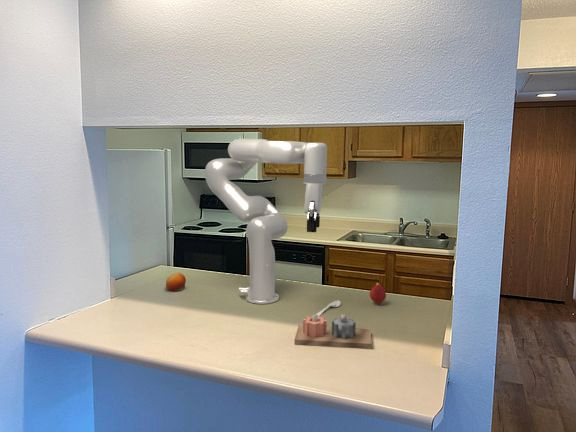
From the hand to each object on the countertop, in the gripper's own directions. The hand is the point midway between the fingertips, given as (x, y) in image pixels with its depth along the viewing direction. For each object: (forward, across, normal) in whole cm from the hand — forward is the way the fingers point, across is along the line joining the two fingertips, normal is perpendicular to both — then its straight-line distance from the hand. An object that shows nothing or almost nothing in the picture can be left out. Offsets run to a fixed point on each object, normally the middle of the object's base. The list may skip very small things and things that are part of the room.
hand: (313, 229), depth 155 cm
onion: (+29, -11, +24) cm, 39 cm away
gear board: (+28, +24, +10) cm, 38 cm away
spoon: (+30, 0, +5) cm, 30 cm away
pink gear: (+27, +24, +4) cm, 36 cm away
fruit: (+31, -15, -57) cm, 66 cm away
